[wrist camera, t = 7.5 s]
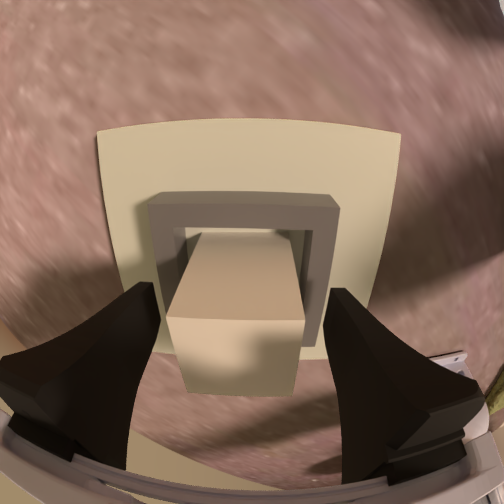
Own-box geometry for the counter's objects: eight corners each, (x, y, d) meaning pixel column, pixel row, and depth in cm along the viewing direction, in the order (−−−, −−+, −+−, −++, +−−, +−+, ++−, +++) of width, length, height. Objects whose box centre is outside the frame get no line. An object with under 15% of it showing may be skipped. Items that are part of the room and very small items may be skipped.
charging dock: (393, 132, 11) (420, 138, 9) (347, 348, 18) (355, 378, 15) (105, 130, 11) (75, 136, 9) (146, 342, 18) (134, 369, 16)
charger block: (288, 232, 13) (305, 320, 8) (283, 301, 15) (292, 395, 9) (202, 232, 13) (165, 316, 8) (209, 300, 15) (187, 392, 10)
